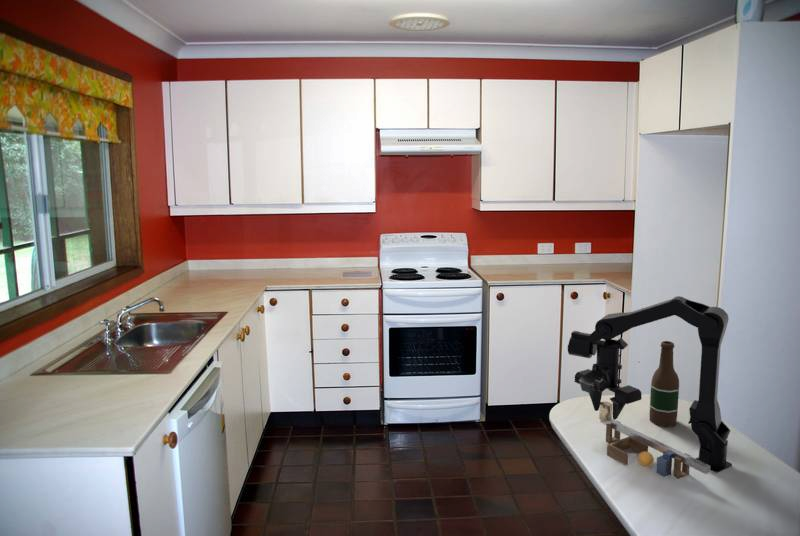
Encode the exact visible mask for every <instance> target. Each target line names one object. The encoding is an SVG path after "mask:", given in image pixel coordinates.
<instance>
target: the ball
mask: <svg viewBox="0 0 800 536" xmlns="http://www.w3.org/2000/svg"><path fill="white" fill-rule="evenodd" d="M638 454H639V453H638ZM637 459H638V462H639V463H640V465H641V466H644V467H646V468H647V467H650V466H652V465H653V464H654V462H655V461H654V460H655V459H654V456H653V455H652V453H651V452H649V451H648V452H646V451H644V452H641V453H640V454H639V455H638V456H637Z"/></svg>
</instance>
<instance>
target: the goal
mask: <svg viewBox="0 0 800 536" xmlns="http://www.w3.org/2000/svg"><path fill="white" fill-rule="evenodd" d="M606 446H607V447H606V449H607V450H606V456H608V457H610V458H611V459H613V460H615V461H617V462H619V463H620V464H622V465H625V466H627V465H629V464H628V461H629V460H628V459H629V453H628V452H626V450H630V451H633V452H635V453H637V454H640V453H641V452H644V451H646V452H649V446H647V445H645V444H643V443H641V442H639V441H637V440H635V439H633V438H631V437H629V436H627V437H624V438H620V440H617V441H615V442H612V443H608V444H607V445H606Z"/></svg>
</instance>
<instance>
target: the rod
mask: <svg viewBox="0 0 800 536" xmlns="http://www.w3.org/2000/svg"><path fill="white" fill-rule="evenodd" d="M598 415H599V417H598V418H599V420H600V421H599V422H600V423H601V424H603V425H605V426H606V424H608V423H609V424H611V425H613V428H612V430H614V429H615V430H617V431H619V432H620V434H623V435H625V436H627V437H631V438H633V439H635V440H637V441H639V442H641V443H643V444H645V445H647V446H648V448H649V447H650V448H651V449H654V450H656V451H658V452H659V453H662V455H660V456H658V457H656V469H655V471H656V472H655V473H656V474H658V475H660V476H662V477H663V478H666V477H668V476H671V475H672V467H673V459H674V457H679V458H681V459H682V462H681V464H682V463H684V464H686V465H688V466H690V467H689V468H692V469H694V470H696V471H698V472H701V473H703V474H704V475H707V474H709V473H711V470H710V465H707V464H705V463H703V462H701V461H699V460H697V459H695V458H696V457H693V456H691V455H690V454H688V455H686V454H687V453H686V454H684V453H685V452H682V451H680V450H677V449H676V448H674V447H672V446H669V445H667V444H665V443H663V442H662V441H659V440H657V439H655V438H653V437H651V436H649V435H646V434H644V433H642V432H640V431H638V430H636V429H634V428H631V427H630V426H628V425H625V424H624V423H622V422H621V423H619V422H620V421H619V422H617V421H618V420H616V419H615V420H614V419H613V403H611V402H609V401H601V402H600V407H599V414H598ZM689 455H690V456H689Z"/></svg>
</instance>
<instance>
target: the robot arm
mask: <svg viewBox="0 0 800 536" xmlns="http://www.w3.org/2000/svg"><path fill="white" fill-rule="evenodd" d="M673 316H676V317H678V318H681V319H682V321H685V322H686V323H687V324H689V325H691V326H693V327H695V328H697V333H698V338H699V341H700V344H701V354H700V355H701V356H700V371H699V372H700V373H699V385H698V386H699V388H698V389H699V390H698V400H696V399H694V400H693V402H692V403H691V405H690V406H689V410H688V411H689V420H688V425H690V428H691V431H692V432H693V433H694V434H695V435H696V436H697V438H698V442H699V449H698V456H697V457H694V458H695V459H697V460H699V461H701V462H703V463H705V464H707V465H710V472H713V473H720V472H722V471H723V470H726V469H728V468H731V467H732V466H733V464H732V463H731V462H729V461H727V455H728V445H729V444H728V443H729V440H728V438H729V436H730V433H731V429H730V428H729V427H728V426H727V425H726V424H725V422H724V421H723V420H722V413H721V407H720V404H719V401H718V391H719V388H718V387H719V375H720V360H721V345H722V342H723V339H724V336H725V334H726V330H727V326H728V323H729V314H728V313H727V312H726V310H724V309H723V308H721V307H718V306H709V305H706V304H704V303H702V302H698V301H694V300H690V299H689V298H688V299H687V298H685V297H683V296H679V295H678V296H674V297H672V298H671V299H668V300H665V301H662V302H658V303H655V304H652V305H649V306H646V307H643V308H639V309H636V310H633V311H629V312H628V311H627V312H615V313H608V314H606V315H604V316H603V317H602V318H600V319H599V320H598V321H596V324H595V325H594V326H595V327H594V329H595V330H594V331H593V332H591V333H587V332H581V331H578V330H573V331H572V332H571V334H570V335H571V336H570V337H569V340H568V344H567V353H568V355H570V356H575V357H580V358H586V359H591V358H592V357H593V356H595V355H596V360H595V361H596V363H593V364H592V366H591V369H590V368H587V369H584V370H580V371H577V372H576V373H575V375H574V383H576V384H579V385H580V388H581V391H582V392H586V393H588V395H589V397H590V401H591V403H592V406H593V410H594V411H595V412H598V411H600V402H602V395H603V392H604V391H606V390H607V391H610V392H612V393H614V396H613V397H610V398H609V400H610V402H612V419H613V420H615V421H616V420H617V419H618V417H620V414H621V412H622V411H623V409H624V408H625V406H626V405H630V404H633V403H635V402H639V401H641V400H642V396H643V395H642V390H640V389H639V388H636V387H634V386H632V385H625V386H622V387H621V386H618V385H620V384H622V379H621V378H619V370H622V369H623V365H622V364H620V350H625V349H626V348H627V347H628V346H629V344H628V343H627V342H626V341H625V340H624V339H623V338H622V337H619V336H620V335H621V334H624V333H626V332H627V331H629V330H631V329H633V328H636V327H639V326H642V325H646V324H649V323H653V322H657V321H660V320H662V319H666V318H669V317H670V318H671V317H673ZM616 337H619V338H618V339H614V338H616Z"/></svg>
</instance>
